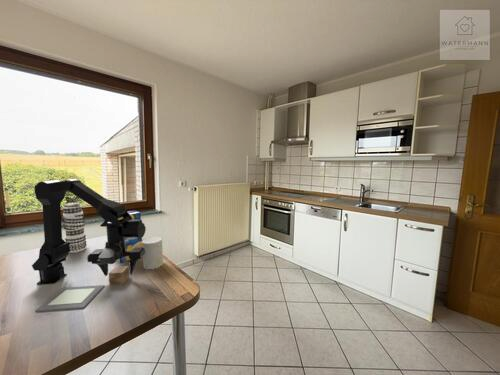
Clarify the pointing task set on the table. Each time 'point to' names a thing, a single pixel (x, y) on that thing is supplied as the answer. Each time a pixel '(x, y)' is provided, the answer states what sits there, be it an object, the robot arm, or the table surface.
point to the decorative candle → (74, 227)
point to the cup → (152, 252)
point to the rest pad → (71, 298)
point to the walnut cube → (119, 275)
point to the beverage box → (131, 242)
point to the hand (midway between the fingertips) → (119, 274)
